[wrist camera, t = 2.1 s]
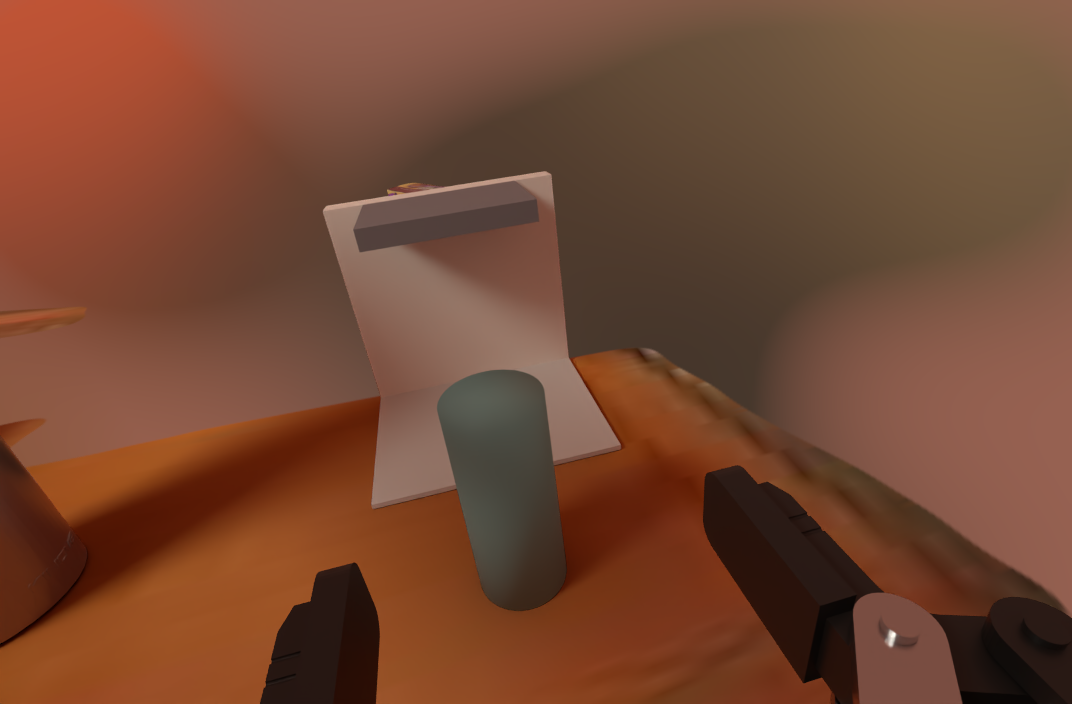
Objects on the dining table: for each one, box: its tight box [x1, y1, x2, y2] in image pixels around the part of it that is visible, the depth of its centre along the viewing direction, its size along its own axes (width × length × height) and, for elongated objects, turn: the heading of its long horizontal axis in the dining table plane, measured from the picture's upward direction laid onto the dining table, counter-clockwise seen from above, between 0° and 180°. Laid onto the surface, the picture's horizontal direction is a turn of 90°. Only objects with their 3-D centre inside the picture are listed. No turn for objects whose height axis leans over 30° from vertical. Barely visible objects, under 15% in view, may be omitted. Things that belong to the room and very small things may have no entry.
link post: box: [437, 370, 567, 611], centre depth 27 cm, size 5×5×12 cm
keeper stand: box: [323, 171, 621, 509], centre depth 39 cm, size 18×16×18 cm
